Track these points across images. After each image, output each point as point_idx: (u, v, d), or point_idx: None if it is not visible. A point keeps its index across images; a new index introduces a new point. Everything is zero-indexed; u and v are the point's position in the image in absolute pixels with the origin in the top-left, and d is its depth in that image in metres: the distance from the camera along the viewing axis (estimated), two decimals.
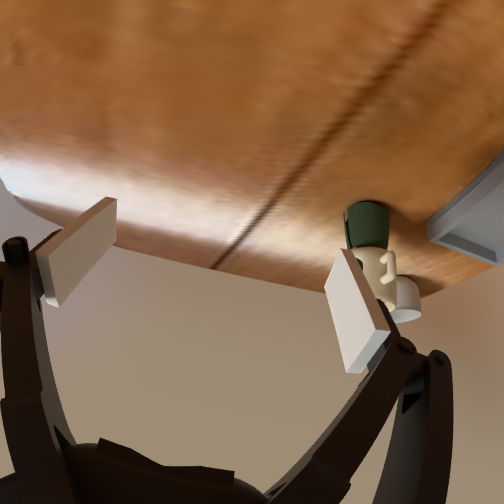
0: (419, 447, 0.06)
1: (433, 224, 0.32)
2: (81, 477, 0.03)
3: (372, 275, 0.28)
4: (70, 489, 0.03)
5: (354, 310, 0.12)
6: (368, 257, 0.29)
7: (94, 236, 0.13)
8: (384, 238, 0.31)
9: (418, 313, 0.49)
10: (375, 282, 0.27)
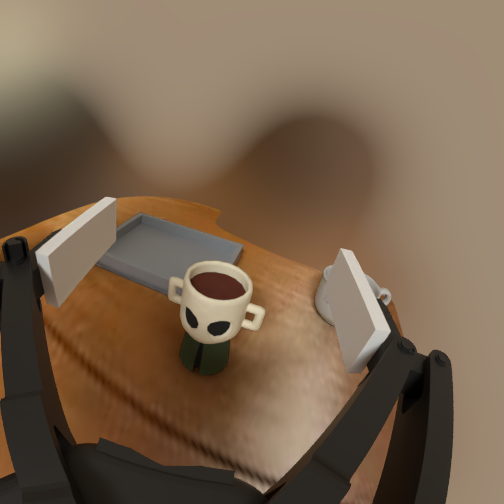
0: (419, 447, 0.06)
1: None
2: (81, 477, 0.03)
3: None
4: (70, 489, 0.03)
5: (354, 310, 0.12)
6: (180, 312, 0.29)
7: (94, 236, 0.13)
8: None
9: None
10: None
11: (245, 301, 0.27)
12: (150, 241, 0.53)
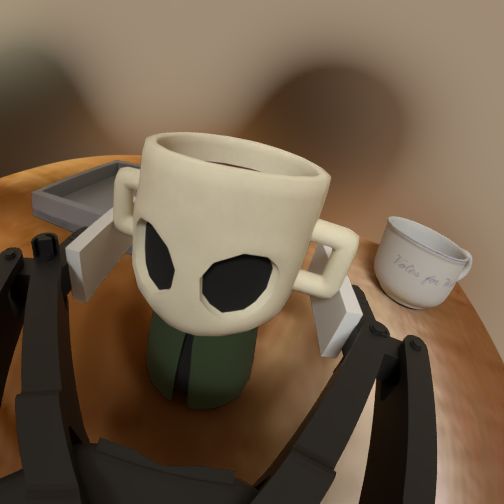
0: (402, 436, 0.06)
1: None
2: (91, 480, 0.04)
3: None
4: (70, 489, 0.03)
5: None
6: None
7: (119, 233, 0.14)
8: None
9: (402, 223, 0.31)
10: None
11: (320, 195, 0.09)
12: None
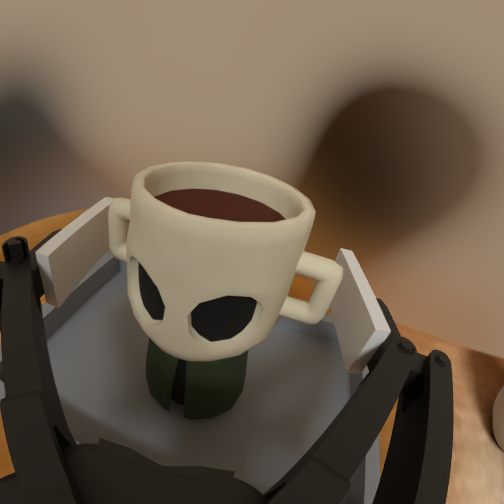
0: (419, 447, 0.06)
1: None
2: (81, 477, 0.03)
3: None
4: (70, 489, 0.03)
5: (354, 310, 0.12)
6: None
7: (94, 236, 0.13)
8: None
9: None
10: None
11: (302, 235, 0.09)
12: (141, 333, 0.19)
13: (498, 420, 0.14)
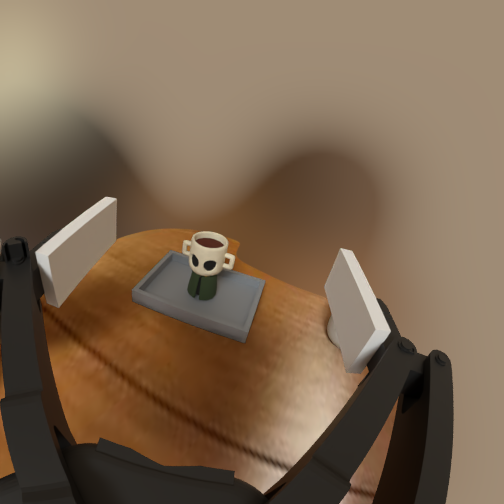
0: (419, 447, 0.06)
1: (237, 336, 0.51)
2: (81, 477, 0.03)
3: (190, 249, 0.54)
4: (70, 489, 0.03)
5: (354, 310, 0.12)
6: None
7: (94, 236, 0.13)
8: None
9: None
10: None
11: (223, 250, 0.52)
12: (184, 279, 0.62)
13: (327, 327, 0.57)
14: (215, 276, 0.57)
